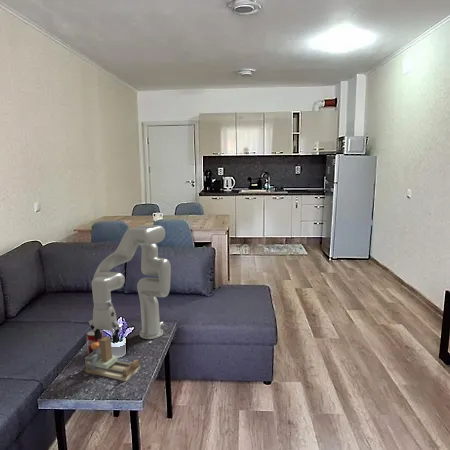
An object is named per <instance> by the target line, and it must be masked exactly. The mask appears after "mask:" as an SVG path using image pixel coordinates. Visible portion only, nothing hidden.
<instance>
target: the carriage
mask: <svg viewBox="0 0 450 450" xmlns="http://www.w3.org/2000/svg"><path fill="white" fill-rule="evenodd" d="M99 341H100V352H101V359H100V360H99V361H97V362H96V367H100V368H104V369H108V368H109V367H110V366H112V365H113V364H114V363H115V362H117V361H119V356H118V355H113V349H112V348H113V347H112V336H111V337H110V336H103V338H102V339H101V340H99Z"/></svg>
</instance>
